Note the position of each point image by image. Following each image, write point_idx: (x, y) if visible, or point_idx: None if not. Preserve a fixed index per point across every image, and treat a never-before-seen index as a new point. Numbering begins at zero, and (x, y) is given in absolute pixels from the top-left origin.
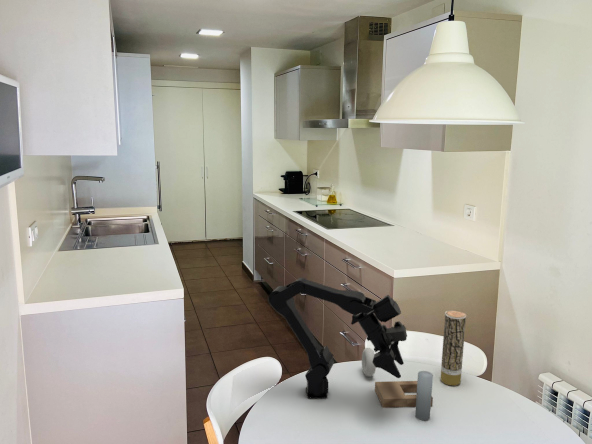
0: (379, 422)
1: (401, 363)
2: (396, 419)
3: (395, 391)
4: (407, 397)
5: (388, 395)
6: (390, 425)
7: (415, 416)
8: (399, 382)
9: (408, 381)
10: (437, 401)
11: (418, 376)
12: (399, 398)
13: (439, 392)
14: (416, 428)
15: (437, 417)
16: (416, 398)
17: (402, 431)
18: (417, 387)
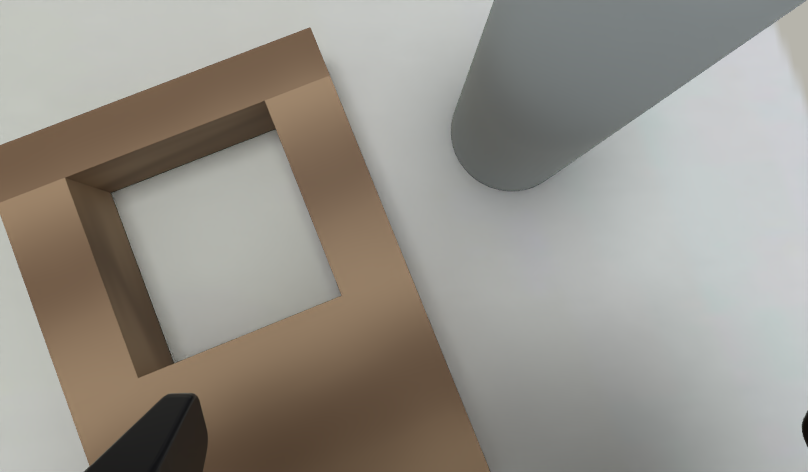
0: (723, 468)
1: (196, 441)
2: (626, 335)
3: (305, 402)
4: (386, 268)
5: (412, 463)
6: (732, 372)
7: (534, 186)
8: (90, 383)
9: (36, 289)
10: (219, 23)
11: (776, 19)
12: (435, 345)
13: (52, 10)
14: (695, 167)
15: (476, 17)
16: (578, 152)
17: (778, 269)
18: (647, 105)
